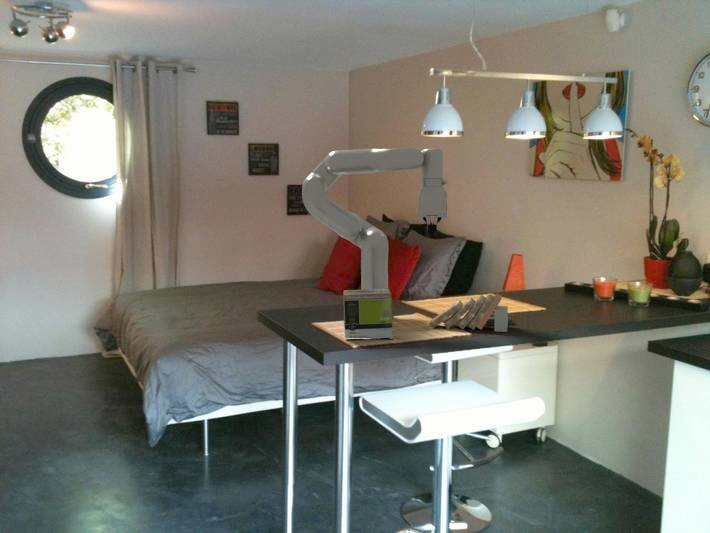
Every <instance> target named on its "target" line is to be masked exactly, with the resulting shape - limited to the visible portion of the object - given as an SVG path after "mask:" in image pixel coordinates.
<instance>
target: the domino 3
mask: <svg viewBox="0 0 710 533" xmlns="http://www.w3.org/2000/svg"><path fill="white" fill-rule="evenodd" d="M486 298H487V297H485V296H484V295H482V294H480V296H479V297H477V299H476V300H475V301H476V302H475V305H474V306H473V307H472V308H471V309H469V310H468V311H467V312H466V313H465V314H464V315H463V316H462V317H461V318H462V319H461V320H460V321H459V323H458V325H457V326H458V327H459V328H460V329H462V330H464V329H465V327H467V325H469V324H470V322H471V320H472V319H473V317H474V315H475V314H476V312H477V311H478V310H479V309H480V307H481V306H482V305H483V304H484V302H485V300H486Z"/></svg>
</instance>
